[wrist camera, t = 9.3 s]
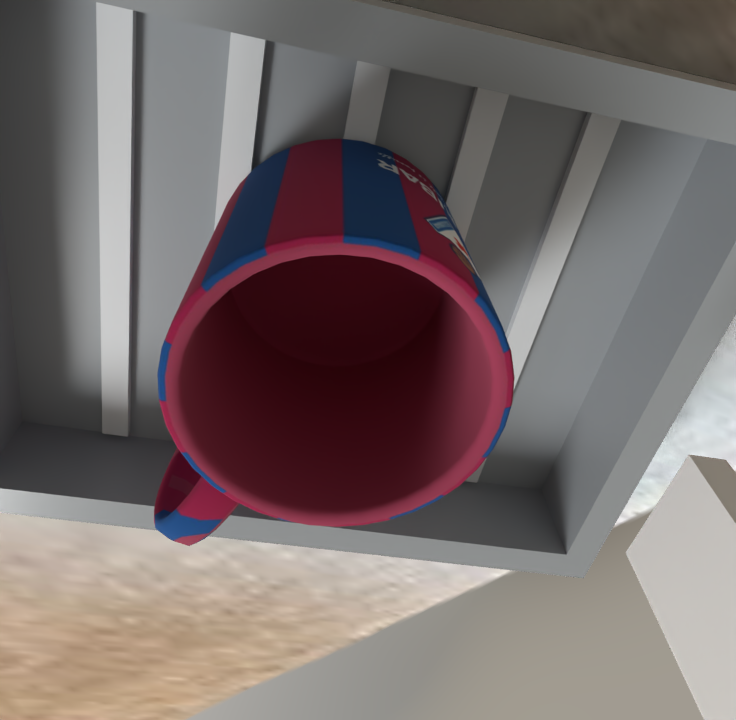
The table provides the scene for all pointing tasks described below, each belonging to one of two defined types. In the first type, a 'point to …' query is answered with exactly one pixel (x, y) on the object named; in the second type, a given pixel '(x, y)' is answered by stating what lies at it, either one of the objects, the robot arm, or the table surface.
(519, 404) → the rack
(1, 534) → the table surface
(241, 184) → the mug
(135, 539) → the table surface
